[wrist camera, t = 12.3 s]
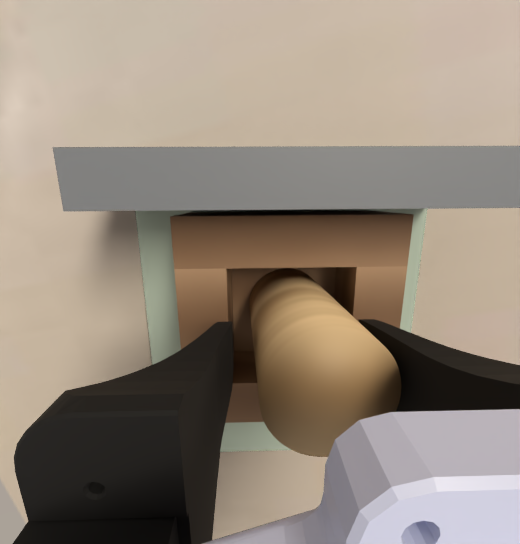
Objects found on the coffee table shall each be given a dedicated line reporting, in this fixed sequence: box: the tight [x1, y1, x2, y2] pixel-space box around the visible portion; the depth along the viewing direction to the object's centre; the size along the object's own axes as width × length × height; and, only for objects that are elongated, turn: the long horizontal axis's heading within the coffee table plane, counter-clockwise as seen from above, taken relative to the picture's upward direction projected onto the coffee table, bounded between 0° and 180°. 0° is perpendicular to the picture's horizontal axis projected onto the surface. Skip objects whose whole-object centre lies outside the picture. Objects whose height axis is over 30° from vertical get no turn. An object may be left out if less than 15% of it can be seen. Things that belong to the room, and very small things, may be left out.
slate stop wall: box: [53, 146, 520, 211], centre depth 13 cm, size 2×16×6 cm, turn 90°
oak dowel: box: [249, 268, 401, 457], centre depth 12 cm, size 4×4×8 cm
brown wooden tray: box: [170, 211, 414, 423], centre depth 15 cm, size 10×10×4 cm
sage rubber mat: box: [135, 209, 427, 452], centre depth 17 cm, size 19×16×1 cm
